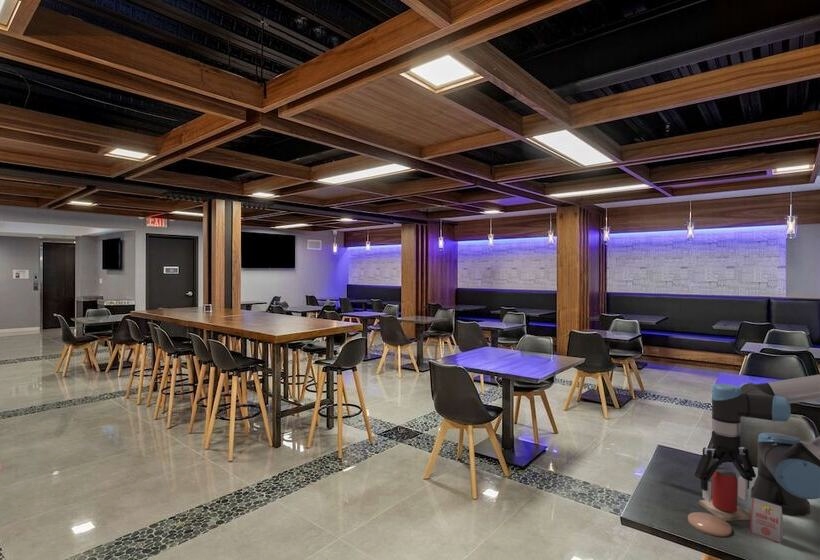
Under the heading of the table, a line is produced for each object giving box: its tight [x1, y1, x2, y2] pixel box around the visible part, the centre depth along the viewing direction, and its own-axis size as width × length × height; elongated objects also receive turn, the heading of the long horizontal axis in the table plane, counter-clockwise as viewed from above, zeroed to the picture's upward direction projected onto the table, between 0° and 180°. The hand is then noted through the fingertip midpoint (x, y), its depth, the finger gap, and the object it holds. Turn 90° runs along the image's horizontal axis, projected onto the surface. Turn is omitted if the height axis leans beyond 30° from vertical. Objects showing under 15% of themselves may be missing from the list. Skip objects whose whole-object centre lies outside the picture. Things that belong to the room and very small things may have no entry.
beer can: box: [711, 466, 738, 512], centre depth 140 cm, size 7×7×12 cm
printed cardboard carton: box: [750, 498, 784, 544], centre depth 127 cm, size 4×7×10 cm, turn 40°
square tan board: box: [698, 499, 751, 522], centre depth 140 cm, size 10×10×1 cm
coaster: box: [687, 511, 733, 537], centre depth 132 cm, size 11×11×1 cm
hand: (724, 499), depth 140 cm, fingers open, 12 cm apart
